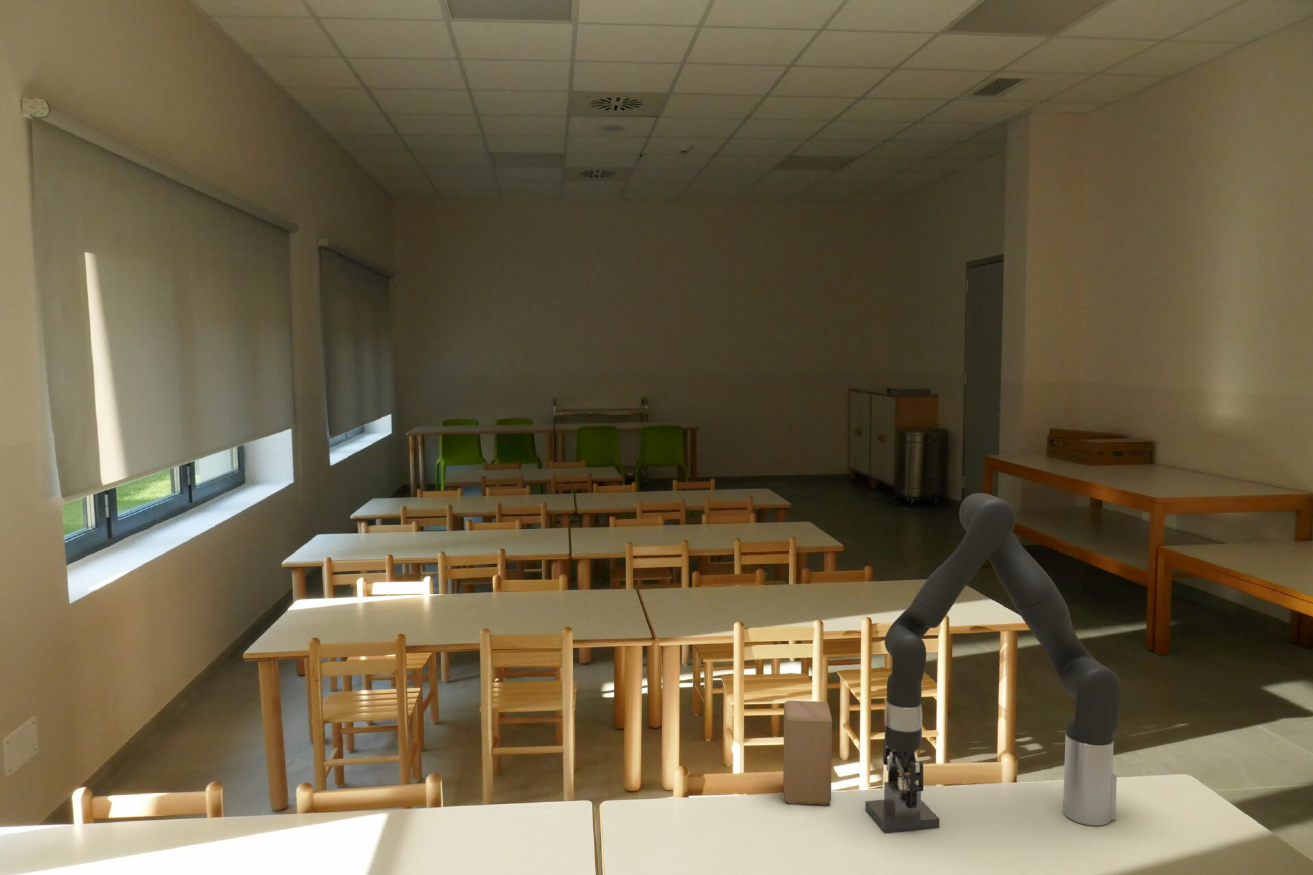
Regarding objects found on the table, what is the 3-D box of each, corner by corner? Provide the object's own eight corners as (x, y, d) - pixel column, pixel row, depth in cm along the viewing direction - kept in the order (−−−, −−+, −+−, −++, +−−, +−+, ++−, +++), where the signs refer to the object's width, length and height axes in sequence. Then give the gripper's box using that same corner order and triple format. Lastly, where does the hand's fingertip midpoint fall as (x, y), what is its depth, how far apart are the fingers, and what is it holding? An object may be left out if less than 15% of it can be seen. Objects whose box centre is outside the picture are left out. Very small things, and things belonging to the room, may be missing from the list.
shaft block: (917, 805, 203) (918, 765, 202) (939, 827, 193) (940, 785, 192) (865, 810, 201) (865, 769, 200) (884, 833, 191) (885, 790, 190)
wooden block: (827, 785, 212) (828, 700, 211) (831, 806, 202) (832, 717, 201) (783, 784, 213) (783, 698, 212) (784, 804, 203) (785, 715, 202)
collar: (908, 802, 200) (909, 779, 199) (920, 814, 194) (921, 791, 194) (884, 804, 199) (884, 781, 198) (895, 817, 193) (895, 794, 193)
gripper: (936, 734, 189) (934, 812, 190) (905, 709, 203) (903, 781, 204) (901, 737, 187) (900, 815, 189) (872, 711, 201) (871, 784, 203)
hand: (902, 797), depth 196 cm, fingers open, 8 cm apart
